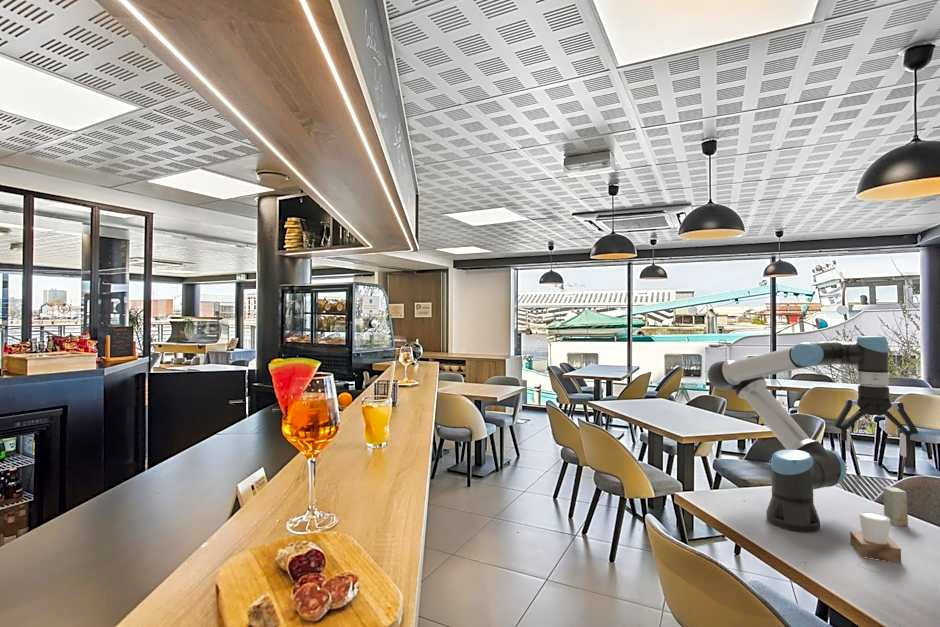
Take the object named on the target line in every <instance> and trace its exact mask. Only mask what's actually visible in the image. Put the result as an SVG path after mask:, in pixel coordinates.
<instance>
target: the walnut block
mask: <svg viewBox="0 0 940 627" xmlns="http://www.w3.org/2000/svg"><path fill="white" fill-rule="evenodd" d="M849 534H850V535H849V537H850V539H849V540H850V544H849V545H850V546H851V547H852V546H853V547H854V548H853V547H852V548H853V550H854V551H855V552H856V551H857V552H858V553H859V554H860V555H859V554H858V553H857V552H856V553H857V554H858V555H859V557H860V558H861V557H867V558H873V559H872V560H874V559H879V560H878V561H881V560H885V561H884V562H888V561H891V562H890V563H895V562H896V564H902V549H901V547H899V545H897V544H896V543H895V541H894V540H892V538H890V537H888V543H887V544H875V543H872V542H869V541H866V540H865V539H863V536H862V531H853V530H850V532H849ZM867 558H866V559H867Z"/></svg>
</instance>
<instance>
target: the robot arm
mask: <svg viewBox="0 0 940 627" xmlns="http://www.w3.org/2000/svg"><path fill="white" fill-rule="evenodd" d="M888 345H889V344H888V339H887V338H886V337H885V336H882V335H881V336H880V335H879V336H876V335H873V336H872V335H871V336H870V335H868V336H867V335H864V336H860V335H859V336H857V338H856V341H837V340H836V341H834V340H826V341H820V342H818V341H817V342H816V341H815V342H810V341H806V342H805V341H804V342H801V343H797V344H795V345H794V346H790V347H787V348H782V349H779V350H775V351H771V352H767V353H763V354H759V355H755V356H750V357H747V358H743V359H738V360H732V359H731V360H730V359H728V360H723V361H722V360H721V361H717V362H714V363H713V364H712V365H710V366H709V368H708V371H707V379H708V382H709V383H710V384H711V386H712V387H714V388H715V389H716V390H717V389H718V390H720V391H733V392H734V393H735V394H736V395H737V397H739V398H740V399H741V400H743V399H744V400H746V402H747V403H748V404H749V405H750V406H751V408H752V409H753V410H754V411H755V413H756V414H757V415H758V417H760V419H761V420H762V421H763V423H764V424H765V425H766V426H767V427H768V428H769V430H770V431H771V432H772V433H773V435H774V436H775V437H776V438H777V439H778V441H779V442H780V443H781V444H782V446H783V447H784V448H785V449H781V450H777V451H775V452H774V453H772V455H771V462H770V468H771V469H770V470H771V497H770V501H769V503H768V506H767V509H766V512H765V517H766V520H767V521H768V523H770V524H771V525H773V526H776V527H779V528H781V529H784V530H788V531H793V532H796V533H797V532H798V533H816V532H819V531H821V520H820V517H819V514H818V511H817V508H816V506H815V504H814V503H815V502H814V490H816V489H822V488H830V487H831V488H832V487H834V486H835V485H838V484H840V483H842V482H843V481H844V480H845V478H846V474H847V466H846V463H845V461H844V459H843V458H842V456H841V455H839V454H838V452H835V451H832V450H830V449H826V448H825V447H824V446H823V444H821V442H819V440H815V439H812V438H810V437H809V436H808V435H807V433H806V432H805V431H804V430H803V429H802V427H800V425H799V424H798V423H797V422H796V421H795V420H794V418H793V417H792V416H791V415H790V413H789V412H788V411H787V410H786V409H785V408H784V406H782V404H781V403H780V402H779V401H778V400H777V399H776V397H775V396H774V395H773V394H772V393H771V392H770V390H769V389H768V388H767V381H766V380H765V377H767V376H771V375H777V374H781V373H785V372H789V371H794V370H799V369H806V368H810V367H815V366H817V367H818V366H829V365H847V366H850V365H851V366H857V383H858V384H859V385H858V386H857V390H858V391H857V396H858V397H857V400H854V399H850V398H846V399H845V406H843V408H842V409H841V411H840V413H839V415H838V416H837V418H836V420H835V421H834V423H833V426H834V427H835V428H837V429H839V430H840V436H841V437H840V438H841V440H842V441H844V443H845V451H846V452H847V453H851V431H850V430H849V428H851V427H852V426H853V425H854V424H855V423H856V422H857V421H859V419H861V418H862V417H863V416H865V415H868V416H879V417H882V416H883V415H884V416H885V417H886V418H887V419H888V420H890V422H891V423H893V425H894V426H896V428H898V429H899V431H901V432H902V433H899V448H900V450H899V452H900V453H899V456H902V457H904V458H907V446H908V447H909V446H911V436H912V435H914V434H918V433H919V431H918V429H917V427H916V426H915V424H914V423H913V421H912V420H911V418H910V416H909V415H908V413H907V412H906V411H905V407H904V403H903V402H901V401H896V402H895V401H893V402H891V401H890V400H891V399H890V388H889V386H888V385H890V378H889V352H890V351H889V346H888ZM855 405H857V406H858V407H859V409H857V411H856V412H854V413H853V415H851V417H849V418H848V419H847V420H846V421H845V419H846V418H847V417H848V414H850V411H851V410H852V408H854V407H855ZM892 407H893V409H895V410H897V413H898V414H899V415H900V416H901V418H902V420H903V421H904V423H905V424H906V425H905V426H907V428H908V429H907V428H906V427H905V426H904V425H903V424H902V423H901V422H900V421H899V420H898V419H897V418H896V417H895V416H893V414H892V413H891V412H889V410H890V409H891V408H892ZM844 421H845V422H844Z"/></svg>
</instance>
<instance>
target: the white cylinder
mask: <svg viewBox="0 0 940 627" xmlns="http://www.w3.org/2000/svg"><path fill="white" fill-rule="evenodd" d="M859 519H860V526H861V527H860V528H861V532H862V536H863V539H865V540H866V541H869V542H872V543H875V544H887V543H888V537H889V536H890V526H891V523H890V518H889V517H887V516H885V515H884V514H881V513H877V512H873V511H860V512H859ZM889 538H890V537H889Z"/></svg>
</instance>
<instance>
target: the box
mask: <svg viewBox="0 0 940 627" xmlns="http://www.w3.org/2000/svg"><path fill="white" fill-rule="evenodd" d="M882 490H883V492H882V493H883V494H882V495H883V513H884V514H883V515H885V516H887V517H889V518H890V524H891V523H892V525H893V524H896V525H895V526H904V525H907V526H909V518H908V497H907V496H908V495H907V493H908V492H906V491H905V490H902V489H900V488H898V487H889V486H883V487H882ZM907 526H906V527H907Z"/></svg>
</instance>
